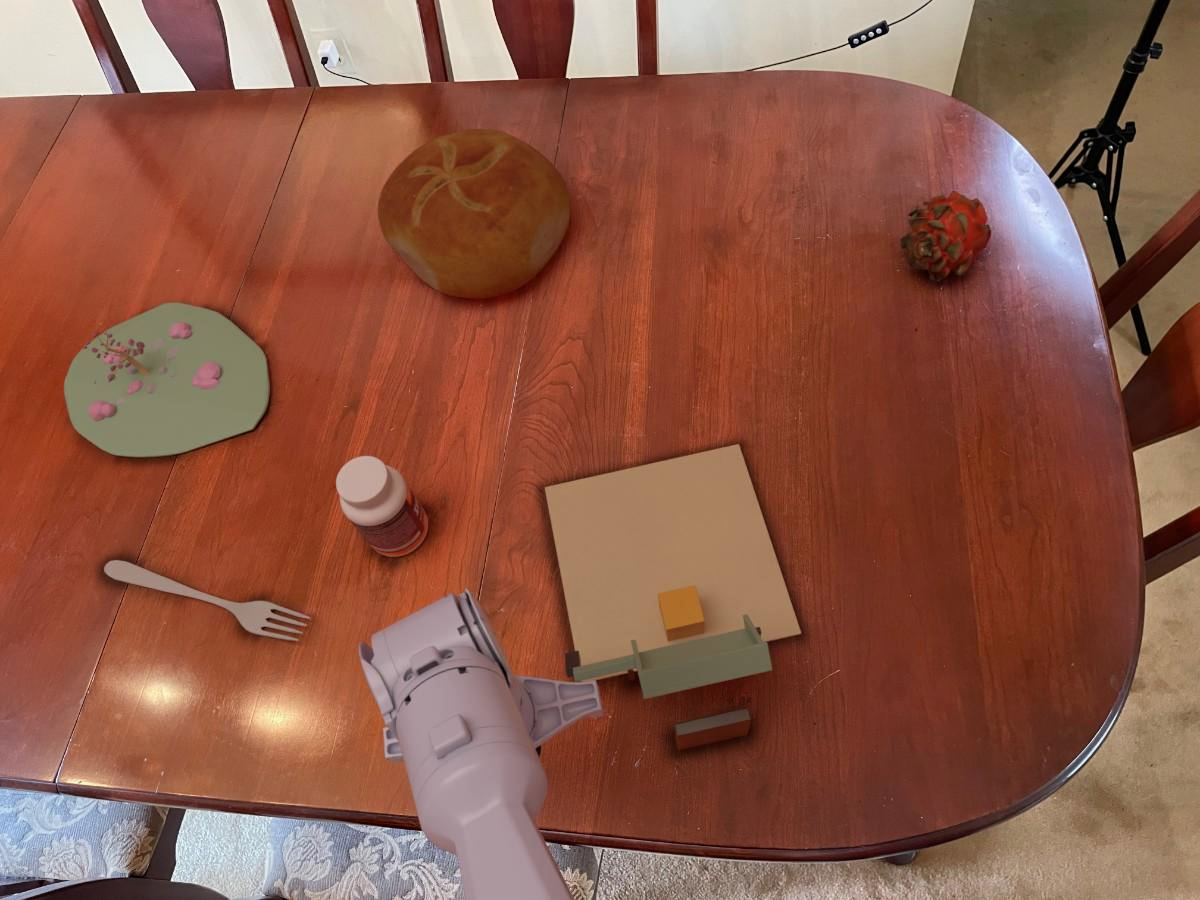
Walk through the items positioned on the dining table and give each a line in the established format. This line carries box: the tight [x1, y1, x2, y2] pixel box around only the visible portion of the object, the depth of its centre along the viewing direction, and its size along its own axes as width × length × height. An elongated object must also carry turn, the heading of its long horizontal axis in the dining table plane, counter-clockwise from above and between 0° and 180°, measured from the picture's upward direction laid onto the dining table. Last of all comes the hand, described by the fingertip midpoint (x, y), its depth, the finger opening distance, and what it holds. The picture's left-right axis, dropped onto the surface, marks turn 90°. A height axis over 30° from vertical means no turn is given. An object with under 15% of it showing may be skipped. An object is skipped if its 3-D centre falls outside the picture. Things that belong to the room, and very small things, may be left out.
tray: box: [564, 614, 773, 700], centre depth 67 cm, size 10×16×2 cm
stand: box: [627, 627, 761, 751], centre depth 71 cm, size 7×12×6 cm, turn 101°
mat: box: [544, 443, 802, 682], centre depth 80 cm, size 20×20×1 cm
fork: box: [103, 559, 312, 642], centre depth 82 cm, size 3×24×2 cm, turn 71°
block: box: [658, 585, 705, 641], centre depth 75 cm, size 3×3×3 cm
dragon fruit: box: [899, 190, 992, 283], centre depth 92 cm, size 8×8×12 cm
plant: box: [63, 302, 271, 459], centre depth 93 cm, size 25×21×9 cm
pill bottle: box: [335, 455, 429, 558], centre depth 80 cm, size 6×6×11 cm
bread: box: [377, 128, 572, 300], centre depth 99 cm, size 23×23×10 cm
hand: (516, 745), depth 64 cm, fingers closed
